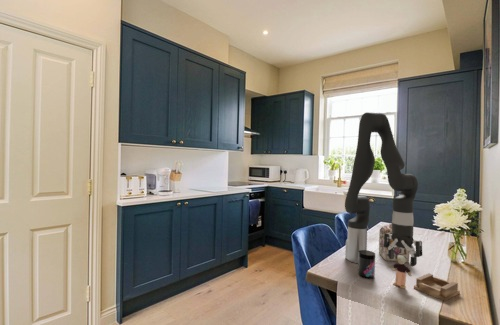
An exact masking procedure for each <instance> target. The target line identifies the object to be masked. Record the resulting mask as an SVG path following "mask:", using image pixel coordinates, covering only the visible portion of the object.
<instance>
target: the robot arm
mask: <svg viewBox="0 0 500 325" xmlns="http://www.w3.org/2000/svg"><path fill="white" fill-rule="evenodd" d="M391 128H392V127H391V125H390V122H389V118H388V117H387V115H386V114H385V113H383V112H374V111H373V112H371V111H369V112H368V111H367V112H364V113H363V114H362V115H361V117H360V119H359V125H358V136H357V144H356V150H355V157H354V159H353V160H354V161H353V164H352V171H351V172H352V174H351V177H350V181H349V182H350V183H349V187H348V189H347V192H346V196H345V200H344V210H345V211H346V213H347V214H351V215H355V216H354V217H353V218H351V219H348V221H347V239H346V240H345V254H344V255H345V257H344V258H345V259H347V261H349V262H351V263H354V264H359V251H360V250H368V246H367V245H368V243H367V242H368V225H369V222H370V208H371V204H370V199H369V198H368V197H367V196H366V195H359V194H360V191H361V189H362V187H364V185H365V184H366V183H367V181H369V180H370V178H371V177H372V175H373V172H374V167H375V163H376V159H375V155H374V152H373V149H372V147H371V146H372V145H371V137H372V133H377V134H378V136H379V138H380V140H381V146H380V157H381V159H382V161H383V163H384V166H385V168H386V174H387V181H388V184H389V186H390V188H391V189H392V190H394V191H397V192H400V193H399V195H398V196H396V197H394V198H393V203H392V216H391V217H392V219H391V220H392V221H391V223H392V234H390V233H385V236H384V247H386V248H388V256H389V259H394V250H393V249H394V248H395V247H396V246H397V247H401V248H404V249H406V250H407V251H408V252H409V253H410V255H409V256H410V259H409V263H410V265H409V266H410V267H413V268H414V267H415V266H417V261H418V259H417V258H419V257H423V242H422V241H421V240H415V239H414V224H415V222H414V218H415V217H414V201H415V198H416V195H417V192H418V187H419V182H418V179H417V177H416V176H415V175H414V174H412V173H402V172H401V170H403V169H404V168H405V162H404V159H403V158H402V155H401V154H400V151H399V150H398V147H397V145H396V141H395V139H394V135H393V131H392V129H391ZM391 238H392V239H393V242H392V243H391V244H390V239H391ZM413 245H414V246H415V247H414V246H413ZM409 247H410V248H409Z"/></svg>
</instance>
